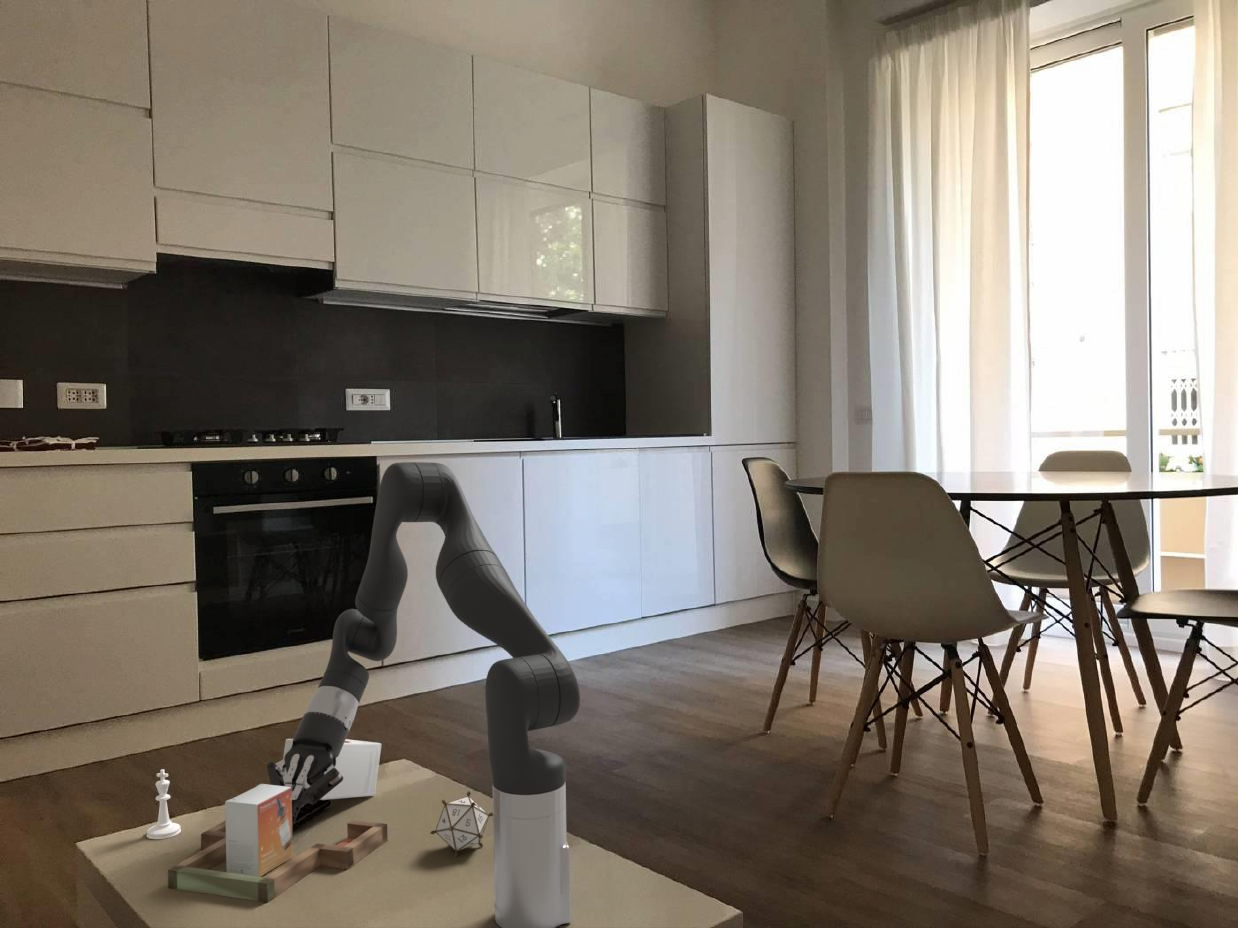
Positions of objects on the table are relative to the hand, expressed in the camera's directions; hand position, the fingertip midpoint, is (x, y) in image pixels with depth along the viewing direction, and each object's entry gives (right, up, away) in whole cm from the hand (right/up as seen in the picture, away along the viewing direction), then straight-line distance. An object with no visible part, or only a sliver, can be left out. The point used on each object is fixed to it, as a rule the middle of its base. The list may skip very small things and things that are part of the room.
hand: (280, 826), depth 152 cm
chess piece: (-21, -4, +9) cm, 23 cm away
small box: (-2, -4, -4) cm, 6 cm away
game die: (+27, -4, +1) cm, 27 cm away
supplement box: (+5, +1, +27) cm, 28 cm away
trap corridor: (-1, -4, -2) cm, 5 cm away
